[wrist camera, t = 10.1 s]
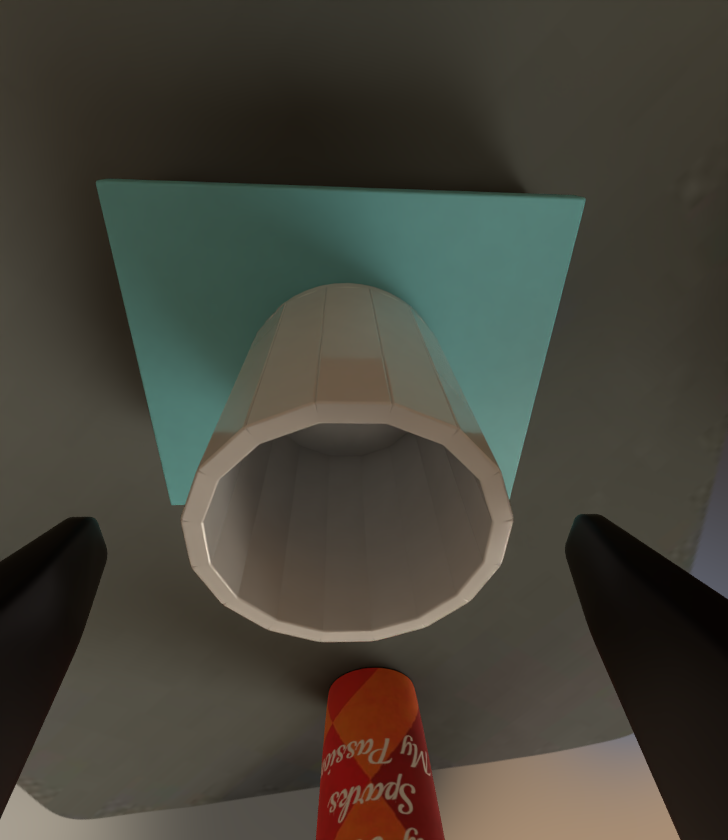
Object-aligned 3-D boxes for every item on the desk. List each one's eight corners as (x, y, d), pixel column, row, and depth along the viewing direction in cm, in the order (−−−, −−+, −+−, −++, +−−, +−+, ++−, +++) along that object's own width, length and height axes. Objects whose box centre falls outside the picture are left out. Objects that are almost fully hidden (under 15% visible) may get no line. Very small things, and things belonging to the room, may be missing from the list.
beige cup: (453, 284, 13) (546, 404, 7) (429, 456, 16) (482, 640, 10) (239, 279, 13) (152, 400, 7) (257, 455, 16) (207, 645, 10)
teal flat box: (541, 186, 15) (587, 197, 12) (485, 454, 20) (508, 505, 18) (142, 172, 14) (93, 180, 11) (194, 453, 20) (170, 505, 17)
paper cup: (426, 649, 28) (492, 1038, 16) (435, 715, 32) (492, 1066, 20) (297, 666, 28) (265, 1059, 16) (322, 729, 32) (311, 1083, 20)
